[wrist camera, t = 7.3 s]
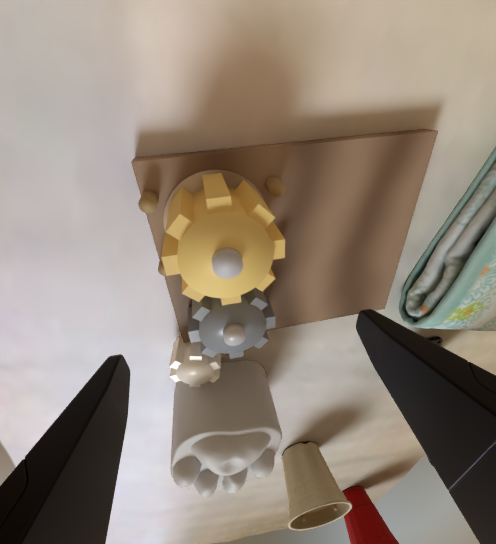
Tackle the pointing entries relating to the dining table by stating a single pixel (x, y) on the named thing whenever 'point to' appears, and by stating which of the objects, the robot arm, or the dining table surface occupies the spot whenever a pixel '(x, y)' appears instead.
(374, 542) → the plastic cup
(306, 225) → the board
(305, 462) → the flower pot
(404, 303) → the towel
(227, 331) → the gear
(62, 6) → the dining table surface
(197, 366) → the small gear
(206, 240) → the loose gear
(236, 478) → the grey paw block
